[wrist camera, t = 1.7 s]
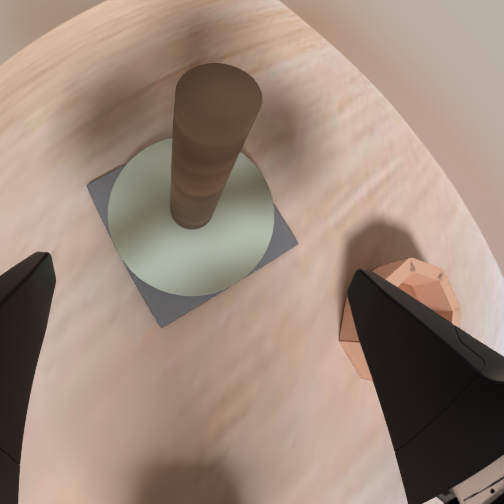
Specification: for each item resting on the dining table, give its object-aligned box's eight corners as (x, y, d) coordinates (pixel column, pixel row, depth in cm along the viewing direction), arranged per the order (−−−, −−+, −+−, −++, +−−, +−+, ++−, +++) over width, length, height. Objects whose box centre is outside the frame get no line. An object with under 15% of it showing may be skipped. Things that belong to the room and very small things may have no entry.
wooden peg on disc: (298, 243, 23) (418, 171, 11) (161, 328, 19) (143, 346, 7) (219, 122, 23) (264, -10, 11) (86, 185, 20) (25, 61, 8)
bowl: (438, 334, 25) (470, 333, 21) (373, 401, 22) (405, 411, 18) (397, 250, 25) (428, 239, 21) (321, 311, 22) (350, 308, 19)
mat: (296, 245, 23) (298, 243, 23) (161, 327, 19) (161, 328, 19) (218, 125, 23) (219, 122, 23) (87, 187, 20) (86, 185, 20)
